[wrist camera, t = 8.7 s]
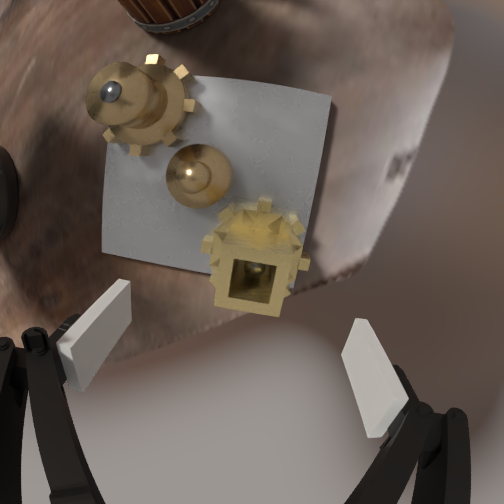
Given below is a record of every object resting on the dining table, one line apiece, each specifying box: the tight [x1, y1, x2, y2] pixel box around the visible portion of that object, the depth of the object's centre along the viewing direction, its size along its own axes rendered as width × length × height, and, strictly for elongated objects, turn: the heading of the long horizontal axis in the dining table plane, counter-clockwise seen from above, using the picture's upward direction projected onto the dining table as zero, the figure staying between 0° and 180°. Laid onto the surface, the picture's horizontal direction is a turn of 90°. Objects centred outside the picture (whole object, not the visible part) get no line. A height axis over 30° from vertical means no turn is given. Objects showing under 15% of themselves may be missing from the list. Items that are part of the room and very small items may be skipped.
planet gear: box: [201, 198, 311, 317], centre depth 26 cm, size 10×10×8 cm
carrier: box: [86, 55, 332, 288], centre depth 24 cm, size 23×22×10 cm
